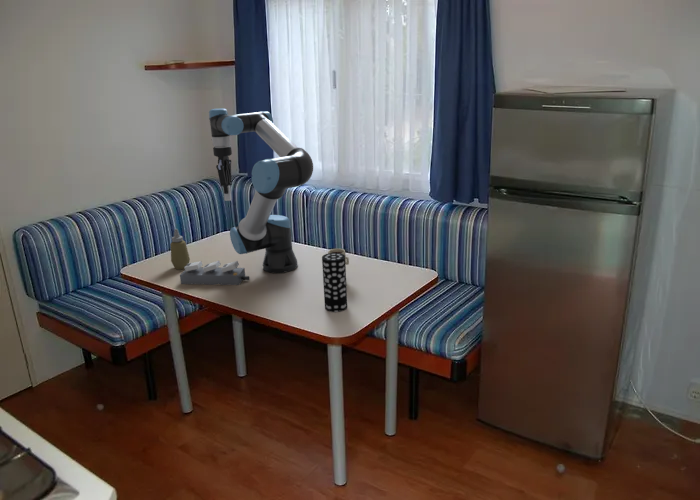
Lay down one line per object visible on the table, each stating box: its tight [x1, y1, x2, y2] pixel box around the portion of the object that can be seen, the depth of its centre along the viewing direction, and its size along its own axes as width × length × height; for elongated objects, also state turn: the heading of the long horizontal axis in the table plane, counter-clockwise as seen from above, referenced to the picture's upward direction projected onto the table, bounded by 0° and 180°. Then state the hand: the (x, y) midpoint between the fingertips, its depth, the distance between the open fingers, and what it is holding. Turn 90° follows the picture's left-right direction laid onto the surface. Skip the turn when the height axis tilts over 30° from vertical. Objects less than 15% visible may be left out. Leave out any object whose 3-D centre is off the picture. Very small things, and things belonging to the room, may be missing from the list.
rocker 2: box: [203, 260, 221, 272], centre depth 244 cm, size 6×5×2 cm
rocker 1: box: [184, 260, 204, 271], centre depth 245 cm, size 6×5×2 cm
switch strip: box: [179, 266, 250, 286], centre depth 245 cm, size 28×9×5 cm, turn 83°
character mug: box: [327, 248, 350, 266], centre depth 238 cm, size 11×7×13 cm, turn 60°
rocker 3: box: [220, 260, 240, 272], centre depth 243 cm, size 6×5×2 cm
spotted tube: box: [321, 252, 348, 313], centre depth 213 cm, size 8×8×20 cm
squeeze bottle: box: [170, 228, 191, 270], centre depth 259 cm, size 8×8×18 cm
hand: (228, 200), depth 254 cm, fingers closed
